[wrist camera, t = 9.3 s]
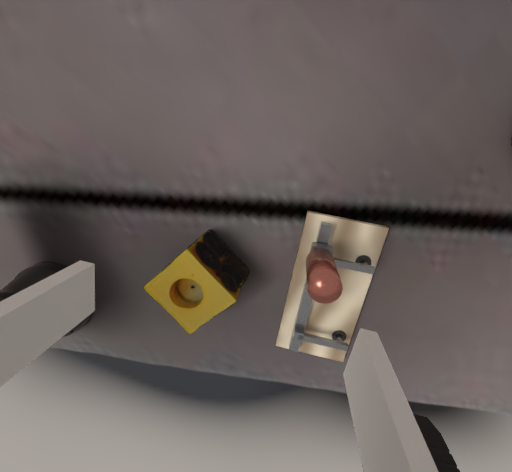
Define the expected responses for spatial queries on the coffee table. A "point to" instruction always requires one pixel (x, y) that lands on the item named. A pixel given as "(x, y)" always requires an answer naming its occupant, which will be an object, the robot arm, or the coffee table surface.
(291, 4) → the coffee table surface
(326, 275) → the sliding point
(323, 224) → the rail
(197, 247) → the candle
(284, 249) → the coffee table surface
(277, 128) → the coffee table surface
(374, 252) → the board
